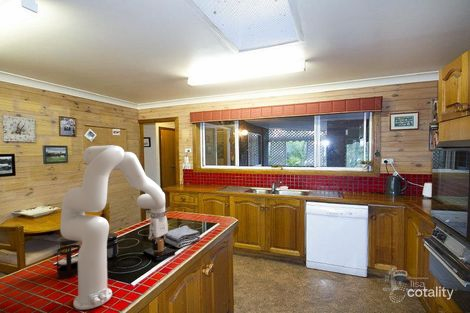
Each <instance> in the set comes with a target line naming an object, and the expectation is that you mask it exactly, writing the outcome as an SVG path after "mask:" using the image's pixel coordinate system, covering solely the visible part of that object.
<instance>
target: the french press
mask: <svg viewBox="0 0 470 313" xmlns="http://www.w3.org/2000/svg"><path fill="white" fill-rule="evenodd" d="M56 242H58V244H59V245H60V246H62V247H59V248H57V249H56V279H58V280H67V279H71V278H74V277H76V276H78V256H72V254H75V253H78V252H79V250H80V248H81V246H82V245H80V244H77V243H78V242H79V241H74V240H68V239H65V238H64V237H63V236H60V237H58V238H57V239H56ZM64 250H66V251H64ZM59 256H65V258H62V259H60V260H59Z"/></svg>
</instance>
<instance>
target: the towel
mask: <svg viewBox="0 0 470 313" xmlns="http://www.w3.org/2000/svg"><path fill="white" fill-rule="evenodd" d="M200 239H201V234H200V231H198V230H196V229H195V230H194V229H191V228H190V227H189V226H188V225H183V226H180V227H177V228H173V229H170V230H168V233H167V234H166V238H165V244H168V245H170V246H173V247H175V248H177V249H181V248H183V247H186V246H188V245H191V244H193V243H196V242H198V241H200Z"/></svg>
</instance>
